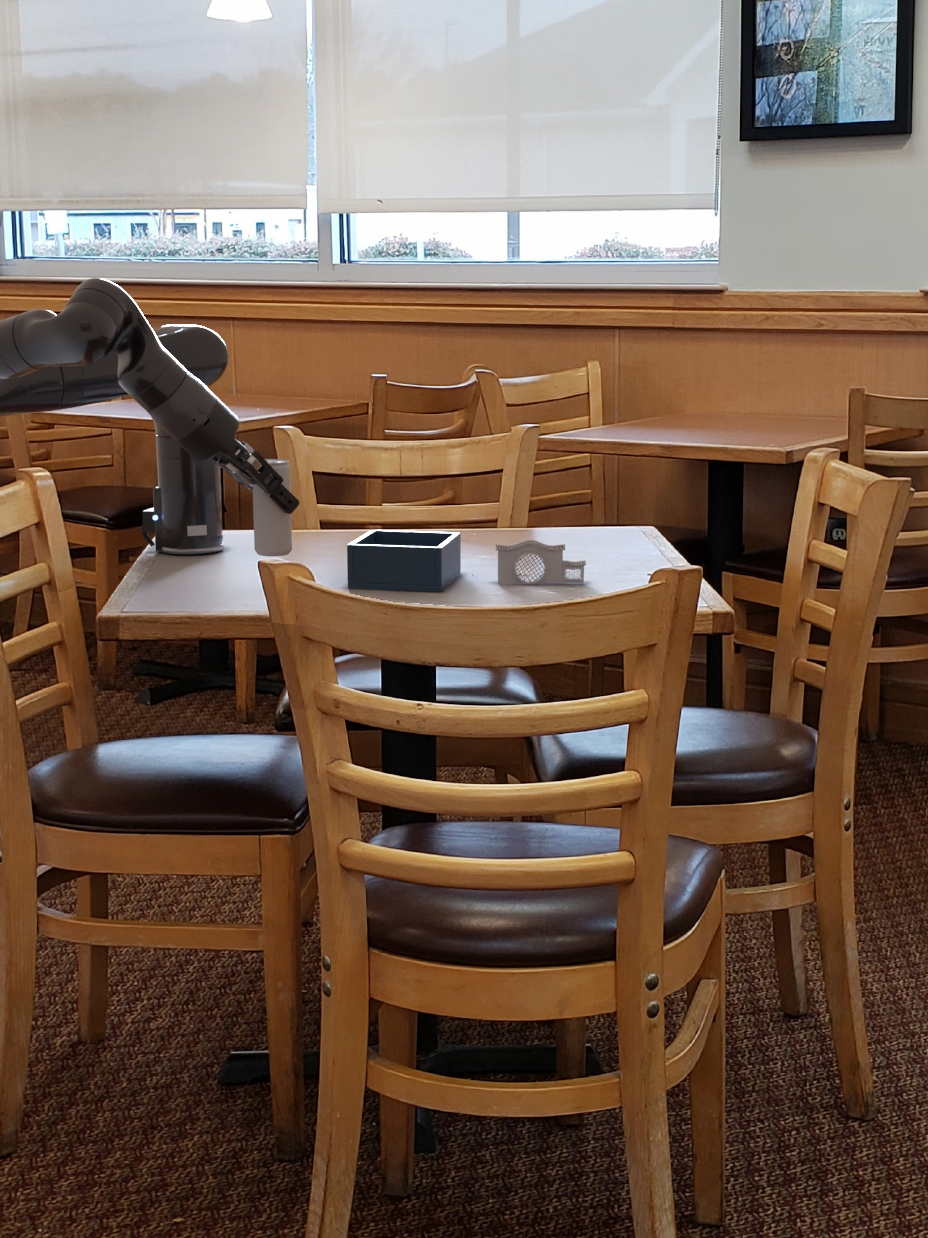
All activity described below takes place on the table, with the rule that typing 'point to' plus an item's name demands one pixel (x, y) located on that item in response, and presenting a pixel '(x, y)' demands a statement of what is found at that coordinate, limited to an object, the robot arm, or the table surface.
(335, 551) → the table surface
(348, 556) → the bin
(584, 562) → the garden wall model
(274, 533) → the beverage can
